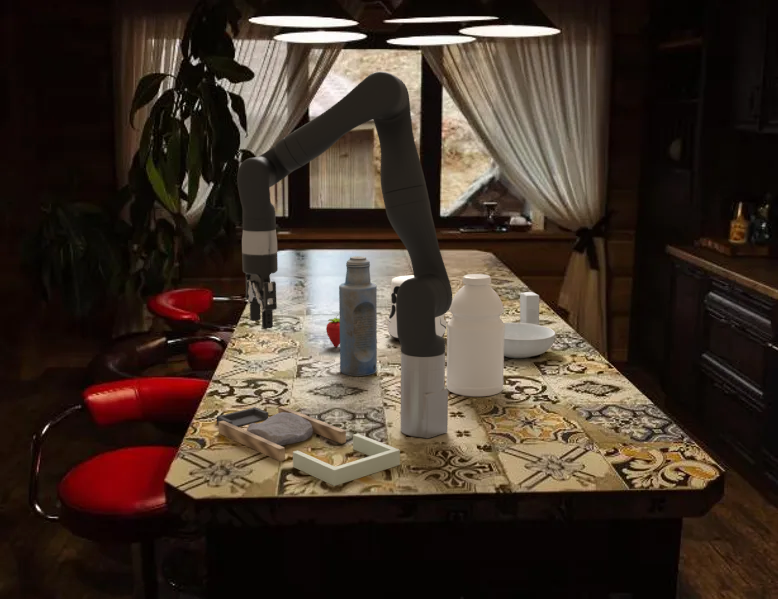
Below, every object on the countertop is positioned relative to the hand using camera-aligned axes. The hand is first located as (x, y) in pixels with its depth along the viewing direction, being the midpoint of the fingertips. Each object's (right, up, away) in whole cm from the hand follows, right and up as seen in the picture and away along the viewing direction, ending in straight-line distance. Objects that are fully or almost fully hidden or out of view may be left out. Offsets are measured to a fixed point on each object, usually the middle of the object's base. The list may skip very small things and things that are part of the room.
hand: (261, 324), depth 210 cm
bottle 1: (+20, -14, +40) cm, 46 cm away
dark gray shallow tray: (-4, -21, 0) cm, 22 cm away
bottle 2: (+49, -17, +24) cm, 57 cm away
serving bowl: (+64, -10, +58) cm, 87 cm away
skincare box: (+71, -5, +84) cm, 110 cm away
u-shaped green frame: (+20, -26, -26) cm, 42 cm away
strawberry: (+13, -8, +65) cm, 67 cm away
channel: (+6, -23, -11) cm, 26 cm away
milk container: (+36, -7, +75) cm, 83 cm away
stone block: (+6, -24, -11) cm, 27 cm away
